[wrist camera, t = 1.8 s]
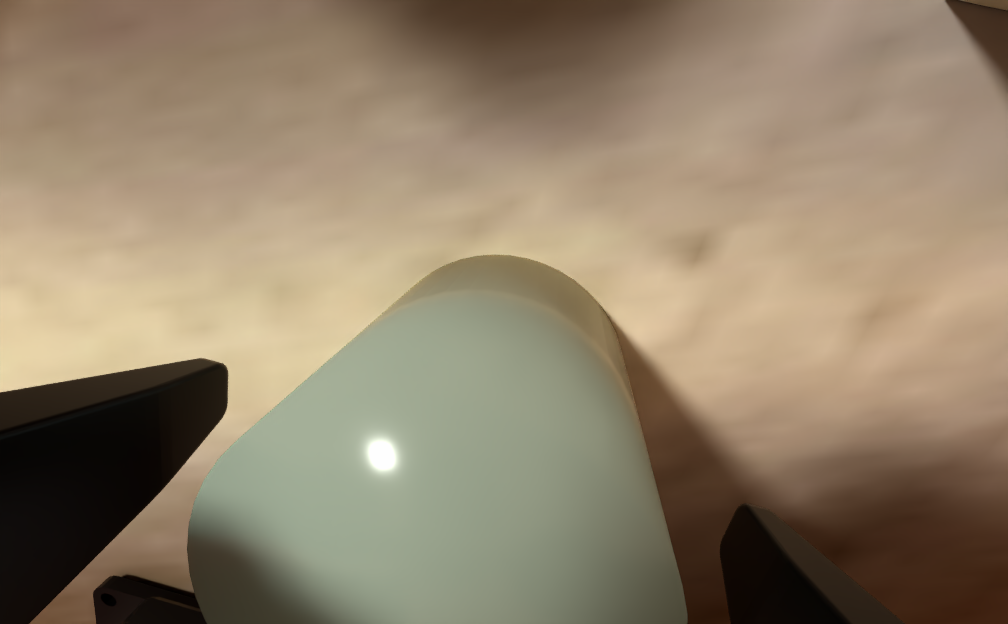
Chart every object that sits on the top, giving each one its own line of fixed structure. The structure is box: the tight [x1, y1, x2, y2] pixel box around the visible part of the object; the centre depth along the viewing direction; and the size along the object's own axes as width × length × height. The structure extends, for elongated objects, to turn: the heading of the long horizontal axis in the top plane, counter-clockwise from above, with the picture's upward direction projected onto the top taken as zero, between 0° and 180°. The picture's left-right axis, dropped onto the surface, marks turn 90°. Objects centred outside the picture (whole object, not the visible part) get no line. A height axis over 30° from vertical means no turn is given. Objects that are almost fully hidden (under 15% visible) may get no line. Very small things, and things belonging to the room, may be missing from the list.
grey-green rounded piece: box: [187, 255, 687, 624], centre depth 8 cm, size 6×6×6 cm
